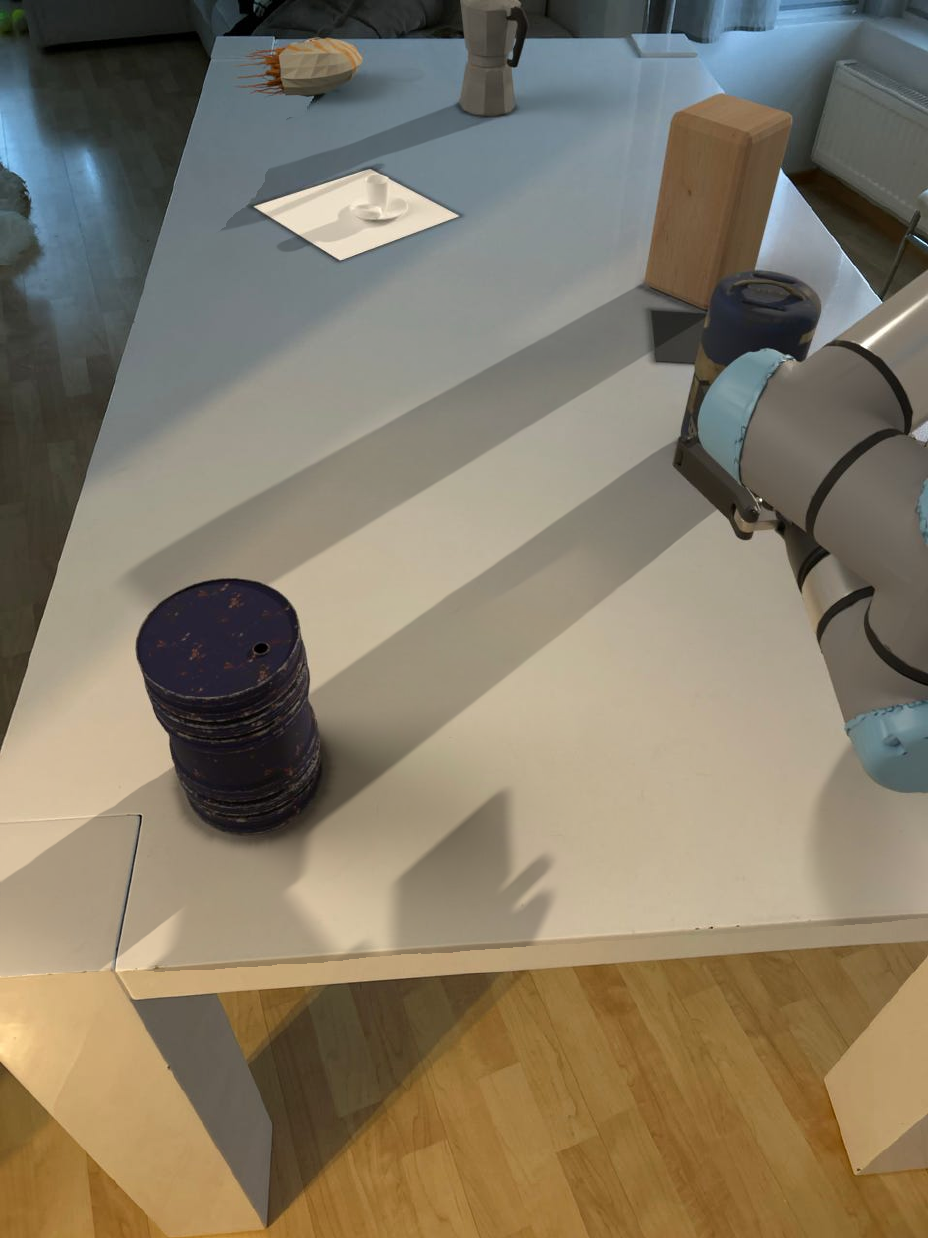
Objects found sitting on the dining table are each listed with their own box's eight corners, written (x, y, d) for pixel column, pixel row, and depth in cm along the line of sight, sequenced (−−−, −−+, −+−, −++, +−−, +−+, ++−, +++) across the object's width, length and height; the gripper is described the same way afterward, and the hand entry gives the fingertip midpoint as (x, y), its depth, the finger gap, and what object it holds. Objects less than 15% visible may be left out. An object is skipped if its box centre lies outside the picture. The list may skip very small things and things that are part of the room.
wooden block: (640, 286, 116) (668, 111, 102) (686, 258, 121) (719, 88, 107) (709, 315, 112) (749, 136, 97) (754, 285, 117) (798, 111, 102)
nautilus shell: (234, 111, 154) (242, 84, 165) (366, 100, 155) (365, 74, 165) (223, 56, 149) (232, 32, 159) (359, 45, 149) (359, 22, 160)
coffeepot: (440, 100, 158) (440, -28, 145) (485, 88, 162) (489, -37, 149) (498, 129, 150) (503, -3, 136) (543, 116, 154) (553, -13, 140)
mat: (765, 369, 104) (765, 367, 104) (655, 363, 105) (656, 360, 105) (752, 318, 112) (753, 315, 112) (650, 312, 112) (651, 310, 112)
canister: (703, 410, 99) (743, 242, 85) (789, 444, 95) (845, 273, 82) (660, 455, 93) (696, 284, 80) (749, 493, 90) (802, 319, 76)
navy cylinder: (155, 808, 65) (98, 669, 54) (229, 703, 72) (190, 560, 61) (283, 855, 63) (250, 721, 52) (348, 743, 69) (330, 601, 58)
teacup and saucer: (368, 230, 125) (366, 199, 122) (333, 209, 129) (330, 179, 126) (419, 211, 129) (419, 181, 126) (383, 192, 133) (382, 162, 130)
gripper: (662, 612, 66) (625, 431, 81) (1015, 616, 67) (915, 434, 81) (682, 532, 61) (638, 352, 75) (1067, 536, 61) (950, 357, 75)
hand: (782, 395), depth 78 cm, fingers open, 13 cm apart
